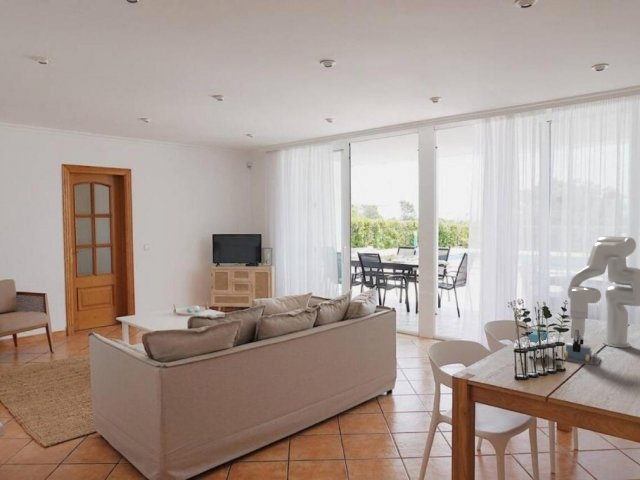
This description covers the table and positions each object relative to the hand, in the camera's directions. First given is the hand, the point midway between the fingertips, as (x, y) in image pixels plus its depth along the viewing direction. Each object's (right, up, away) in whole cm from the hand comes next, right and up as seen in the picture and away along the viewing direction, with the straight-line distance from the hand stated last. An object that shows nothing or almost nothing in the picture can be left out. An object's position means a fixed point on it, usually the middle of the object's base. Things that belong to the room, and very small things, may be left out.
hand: (578, 349), depth 228 cm
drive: (0, -4, 0) cm, 4 cm away
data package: (-17, -5, +6) cm, 18 cm away
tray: (0, -5, 0) cm, 5 cm away
